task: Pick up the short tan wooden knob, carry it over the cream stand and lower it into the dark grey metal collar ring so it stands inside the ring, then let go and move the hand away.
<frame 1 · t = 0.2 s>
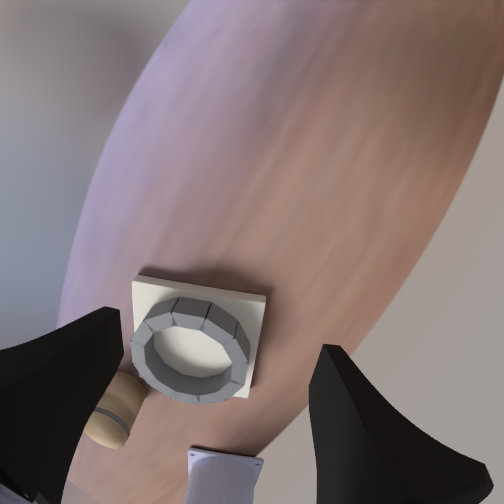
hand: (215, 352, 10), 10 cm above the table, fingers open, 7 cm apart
collar stand: (196, 338, 22), on the table
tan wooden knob: (126, 387, 25), on the table
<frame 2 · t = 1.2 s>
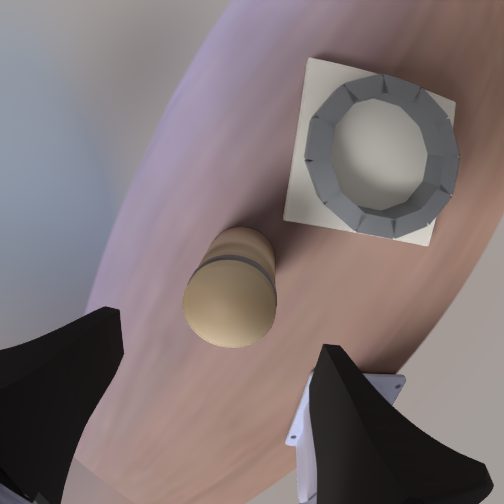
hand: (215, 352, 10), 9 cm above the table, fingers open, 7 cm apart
collar stand: (373, 153, 16), on the table
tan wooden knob: (241, 259, 19), on the table
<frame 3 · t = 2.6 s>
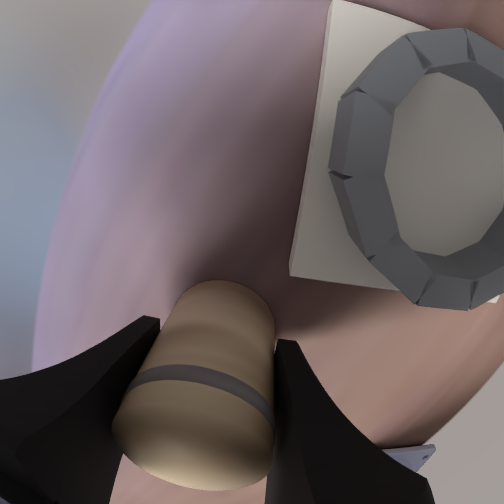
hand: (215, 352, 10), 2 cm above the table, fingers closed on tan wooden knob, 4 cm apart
collar stand: (434, 162, 9), on the table
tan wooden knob: (222, 326, 12), on the table, touching gripper
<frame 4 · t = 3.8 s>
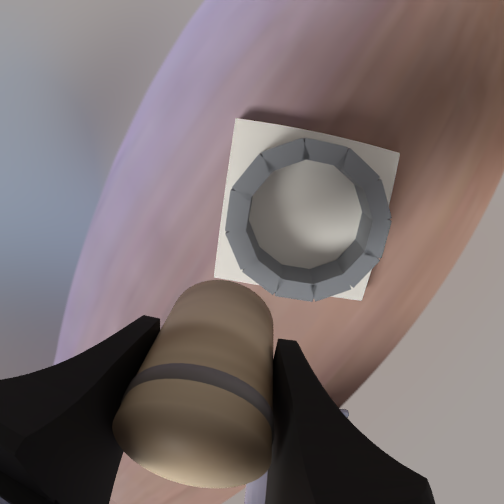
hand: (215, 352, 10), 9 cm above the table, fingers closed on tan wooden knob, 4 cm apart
collar stand: (304, 211, 17), on the table
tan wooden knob: (221, 326, 12), point 7 cm above the table, touching gripper
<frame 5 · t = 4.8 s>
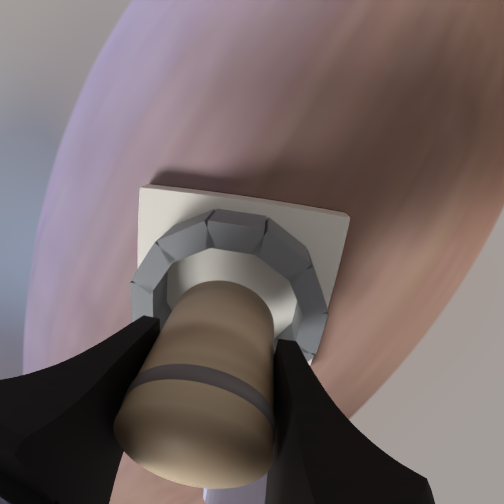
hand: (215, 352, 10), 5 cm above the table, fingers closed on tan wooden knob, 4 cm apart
collar stand: (232, 288, 15), on the table
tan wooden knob: (222, 326, 12), point 3 cm above the table, touching gripper
when the fingers open (4 cm above the table, at t = 5.5 s): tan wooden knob drops 1 cm, resting on collar stand.
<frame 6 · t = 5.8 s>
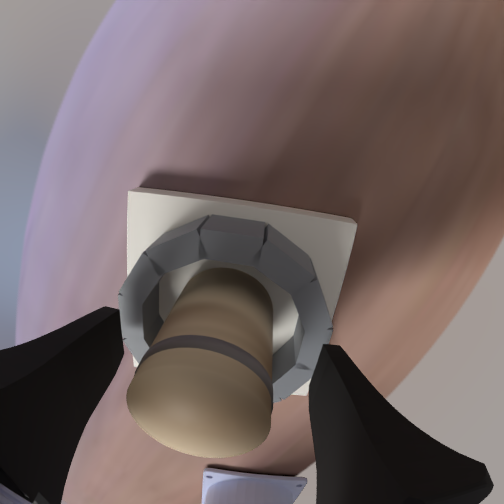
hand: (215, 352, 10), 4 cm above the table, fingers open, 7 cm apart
collar stand: (229, 299, 14), on the table
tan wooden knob: (225, 311, 13), point 1 cm above the table, touching collar stand
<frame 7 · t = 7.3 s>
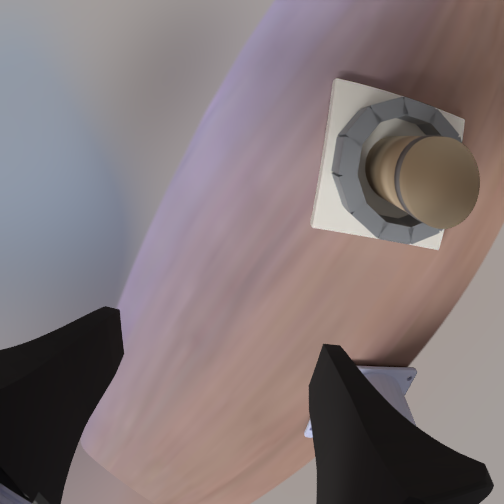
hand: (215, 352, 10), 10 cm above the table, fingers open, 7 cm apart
collar stand: (391, 166, 18), on the table
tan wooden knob: (395, 169, 17), point 1 cm above the table, touching collar stand
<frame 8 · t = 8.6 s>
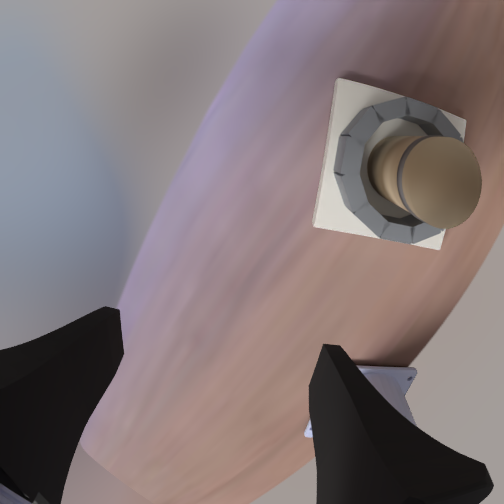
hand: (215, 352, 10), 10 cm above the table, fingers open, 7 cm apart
collar stand: (392, 166, 18), on the table
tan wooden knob: (397, 168, 17), point 1 cm above the table, touching collar stand
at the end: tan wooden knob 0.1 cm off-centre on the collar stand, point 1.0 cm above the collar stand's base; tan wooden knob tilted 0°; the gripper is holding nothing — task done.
